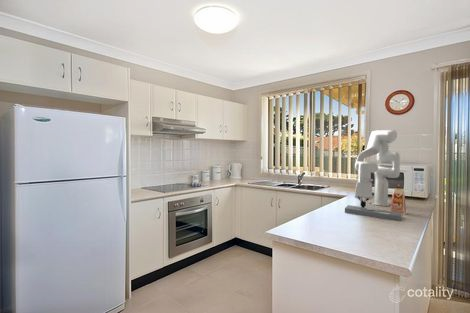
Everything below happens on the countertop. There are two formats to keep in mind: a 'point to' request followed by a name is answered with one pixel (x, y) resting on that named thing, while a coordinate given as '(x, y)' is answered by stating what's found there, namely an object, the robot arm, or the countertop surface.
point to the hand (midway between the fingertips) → (363, 207)
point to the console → (374, 212)
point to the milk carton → (398, 201)
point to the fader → (370, 206)
